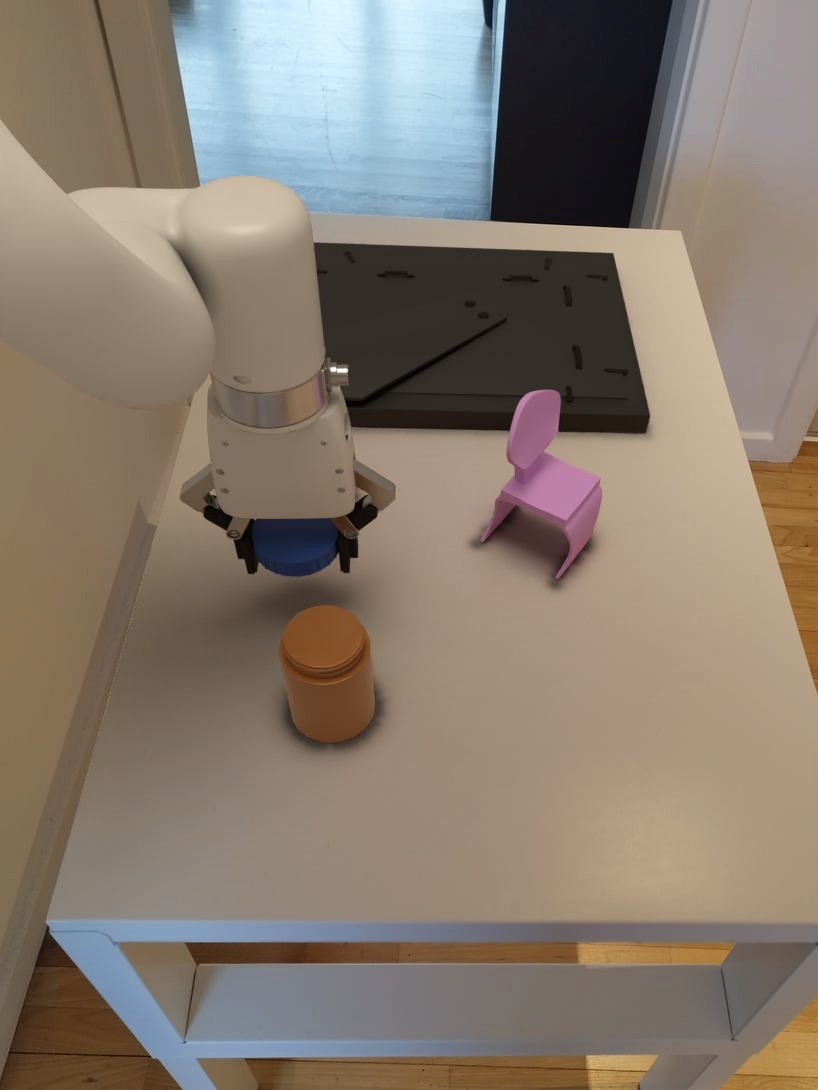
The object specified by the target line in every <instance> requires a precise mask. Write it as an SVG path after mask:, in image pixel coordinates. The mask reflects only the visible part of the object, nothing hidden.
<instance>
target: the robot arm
mask: <svg viewBox="0 0 818 1090" xmlns="http://www.w3.org/2000/svg"><path fill="white" fill-rule="evenodd" d="M310 216H311V215H310V213H309V210H308V207H307V206H306V204H305V202H304V201H303V199H302V197H300V196H299V194H297V192H296V191H294V190H293V189H292V188H291V187H289V186H287V185H285V184H284V183H282V182H279V181H277V180H275V179H272V178H268V177H263V176H257V175H231V176H224V177H220V178H216V179H213V180H210V181H207V182H205V183H203V184H201V185H199V186H198V187H193V188H192V187H191V188H150V187H149V188H148V187H146V188H145V187H124V186H112V187H111V186H106V187H105V186H104V187H90V188H84V189H78V190H75V191H71V192H69V193H66V192H65V191H64V190H63V189H62V188H61V187H60V186H59V185H58V184H57V183H56V182H55V181H54V180H53V179H52V177H51V176H50V175H49V174H48V173H47V172H46V171H45V170H44V169H43V168H42V167H41V166H40V164H38V162H37V161H36V160H35V159H34V158H33V156H32V155H31V154H30V153H29V152H28V151H27V150H26V149H25V148H24V146H22V144H21V143H20V142H19V141H18V140H17V138H16V137H15V136H14V134H13V133H12V132H11V131H10V129H9V128H8V127H7V125H6V124H5V123H4V122H3V121H2V119H1V118H0V342H1V343H3V344H5V345H6V346H7V347H9V348H11V349H12V350H13V351H16V352H17V353H19V354H21V355H22V356H24V357H25V358H27V359H28V360H30V361H31V362H33V363H34V364H36V365H38V366H39V367H41V368H43V369H44V370H46V371H48V372H49V373H51V374H52V375H54V376H55V377H57V378H59V379H60V380H62V381H64V382H65V383H67V384H68V385H70V386H72V387H74V388H76V389H78V390H80V391H81V392H83V393H85V394H87V395H89V396H91V397H92V398H95V399H98V400H99V401H102V402H105V403H108V404H111V405H114V406H116V407H121V408H124V409H131V410H137V411H154V410H162V409H166V408H170V407H173V406H177V405H178V404H181V403H183V402H184V401H186V400H188V399H189V398H190V397H192V396H193V395H194V394H196V393H197V392H198V391H199V390H200V388H201V387H202V386H203V385H204V383H205V382H206V381H207V378H208V377H209V376H210V381H211V384H209V387H208V389H207V396H206V397H207V398H206V399H207V400H206V431H207V442H208V444H207V445H208V449H209V450H208V453H209V460H210V462H209V463H208V464H207V465H206V466H204V467H203V468H201V470H199V471H198V472H196V473H195V474H194V475H193V476H191V477H190V478H188V480H186V481H185V482H183V483H182V485H181V488H180V494H179V499H180V501H181V502H182V503H184V504H185V505H187V506H189V507H190V508H192V510H193V511H196V512H197V513H201V514H202V516H203V518H204V519H205V520H206V521H208V522H210V523H211V524H213V525H215V526H216V527H219V528H220V529H222V530H224V531H225V535H226V537H227V538H228V539H230V540H232V541H233V545H234V548H235V552H236V556H237V559H238V560H244V564H245V568H246V572H247V575H255V574H256V573H258V570H259V562H258V559H257V557H256V555H254V551H253V547H252V545H253V542H252V538H251V535H252V527H253V524H254V522H255V520H256V519H305V518H330V520H331V521H332V522H333V523H334V524H335V526H336V527H337V528H338V539H337V541H338V551H339V553H338V558H339V567H340V572H341V573H342V572H343V574H350V573H351V559H359V535H360V531H361V530H362V529H364V528H365V527H366V526H368V525H369V524H370V523H372V522H373V521H374V520H376V519H377V518H378V514H379V513H380V512H382V511H384V510H385V509H386V508H387V507H388V506H390V505H391V504H392V503H393V502H395V500H396V497H397V495H396V491H397V490H396V489H397V488H396V483H394V482H393V481H391V480H389V479H387V477H384V476H383V475H381V474H380V473H378V472H377V471H375V470H373V469H371V468H370V467H369V466H367V465H365V464H363V463H362V462H360V461H359V460H357V456H356V449H355V448H356V447H355V442H354V435H353V430H352V429H353V428H352V426H351V424H350V419H349V415H348V410H347V407H346V403H345V400H344V397H343V394H342V391H341V389H340V386H339V385H349V365H337V362H331V358H327V352H326V347H324V337H323V328H322V318H321V309H320V299H319V290H318V280H317V270H316V261H315V251H314V242H315V241H314V233H313V225H312V221H311V217H310ZM356 488H358V489H359V490H361V491H363V492H364V493H366V494H365V495H363V496H362V497H361V498H360V499H358V500H357V501H356ZM213 490H214V493H215V494H212V493H210V492H212V491H213Z"/></svg>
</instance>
